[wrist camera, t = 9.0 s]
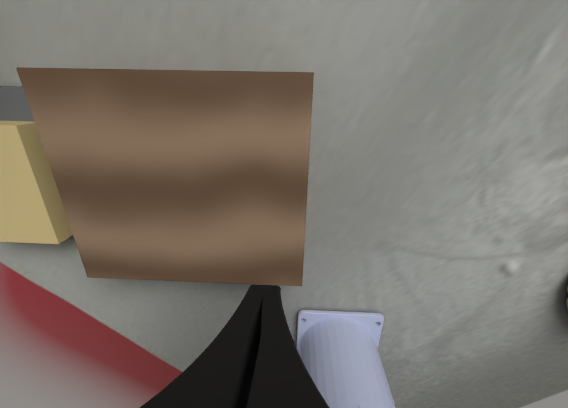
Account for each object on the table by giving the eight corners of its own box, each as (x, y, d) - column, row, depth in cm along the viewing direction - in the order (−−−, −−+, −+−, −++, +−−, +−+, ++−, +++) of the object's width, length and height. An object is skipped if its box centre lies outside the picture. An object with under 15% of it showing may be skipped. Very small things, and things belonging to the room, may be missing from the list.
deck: (300, 254, 23) (301, 286, 20) (119, 248, 24) (87, 277, 20) (310, 75, 18) (313, 72, 14) (72, 71, 18) (16, 67, 14)
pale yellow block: (-16, 240, 21) (9, 228, 23) (58, 244, 21) (77, 231, 23) (-73, 122, 18) (-39, 119, 19) (15, 125, 17) (42, 121, 19)
